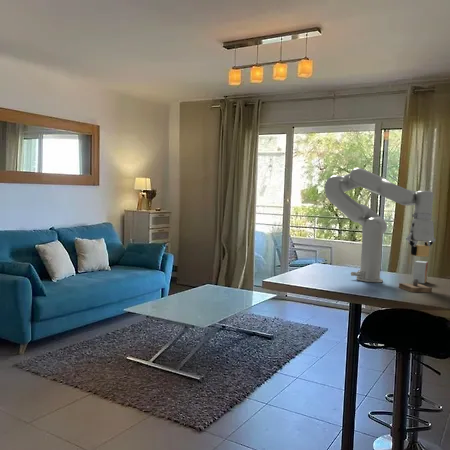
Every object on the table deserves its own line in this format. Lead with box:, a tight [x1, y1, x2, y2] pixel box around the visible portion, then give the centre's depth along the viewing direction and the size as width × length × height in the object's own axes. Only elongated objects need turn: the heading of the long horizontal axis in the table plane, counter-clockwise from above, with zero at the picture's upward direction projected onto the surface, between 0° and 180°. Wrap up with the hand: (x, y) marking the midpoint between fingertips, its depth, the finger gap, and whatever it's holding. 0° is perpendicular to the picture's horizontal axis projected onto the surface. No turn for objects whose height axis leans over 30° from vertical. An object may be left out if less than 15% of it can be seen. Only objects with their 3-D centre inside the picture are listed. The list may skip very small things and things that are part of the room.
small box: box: [412, 260, 429, 284], centre depth 231 cm, size 8×6×10 cm
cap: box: [413, 244, 430, 258], centre depth 215 cm, size 6×6×5 cm
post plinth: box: [398, 279, 433, 293], centre depth 207 cm, size 10×10×5 cm
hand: (419, 254), depth 215 cm, fingers closed on cap, 5 cm apart
